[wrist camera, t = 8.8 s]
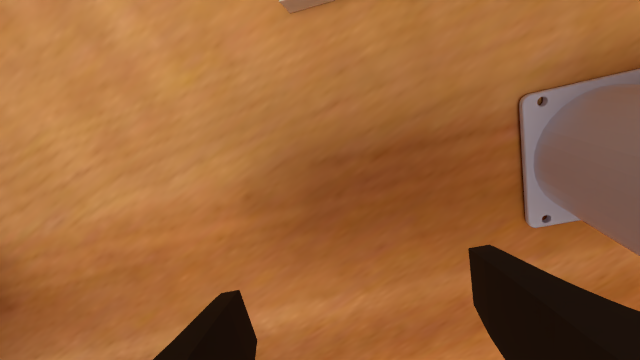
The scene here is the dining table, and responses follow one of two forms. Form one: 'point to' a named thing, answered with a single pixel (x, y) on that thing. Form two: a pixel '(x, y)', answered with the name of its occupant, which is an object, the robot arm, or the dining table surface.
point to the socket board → (301, 4)
